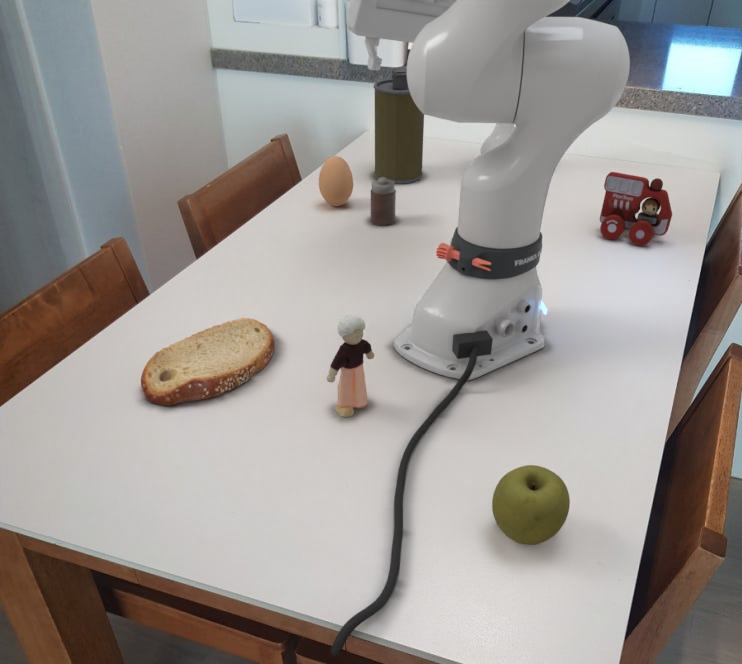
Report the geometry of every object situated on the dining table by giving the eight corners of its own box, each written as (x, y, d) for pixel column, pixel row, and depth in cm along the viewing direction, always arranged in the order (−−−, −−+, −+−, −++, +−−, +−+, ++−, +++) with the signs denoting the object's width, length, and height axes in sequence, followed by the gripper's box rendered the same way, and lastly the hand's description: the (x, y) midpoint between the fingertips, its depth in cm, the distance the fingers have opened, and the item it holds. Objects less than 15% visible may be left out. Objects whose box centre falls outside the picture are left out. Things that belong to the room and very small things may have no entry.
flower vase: (544, 180, 157) (565, 43, 140) (457, 173, 160) (467, 38, 143) (548, 161, 166) (568, 30, 149) (465, 154, 169) (476, 25, 153)
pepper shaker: (384, 227, 138) (384, 183, 133) (365, 221, 141) (365, 177, 135) (400, 220, 141) (401, 176, 135) (381, 214, 143) (382, 171, 138)
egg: (313, 208, 145) (311, 159, 139) (329, 197, 150) (327, 148, 144) (344, 213, 143) (342, 164, 137) (359, 202, 148) (358, 153, 142)
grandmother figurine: (349, 425, 92) (347, 333, 84) (324, 416, 94) (319, 324, 85) (382, 395, 97) (383, 306, 89) (357, 387, 99) (356, 298, 90)
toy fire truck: (659, 250, 130) (675, 189, 124) (589, 236, 135) (601, 176, 128) (668, 236, 135) (684, 177, 128) (601, 223, 140) (613, 165, 133)
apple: (480, 548, 76) (487, 496, 72) (498, 499, 82) (506, 448, 77) (554, 568, 74) (566, 515, 70) (568, 516, 80) (580, 464, 75)
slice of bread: (272, 328, 110) (270, 304, 108) (282, 396, 97) (280, 371, 95) (147, 339, 108) (142, 315, 106) (140, 410, 95) (134, 385, 92)
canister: (423, 184, 155) (428, 76, 142) (373, 184, 155) (373, 76, 142) (421, 166, 163) (425, 62, 150) (374, 166, 163) (373, 62, 150)
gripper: (367, -37, 105) (349, 72, 114) (486, -15, 114) (460, 84, 123) (349, -47, 108) (332, 59, 117) (465, -25, 118) (442, 72, 127)
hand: (399, 72), depth 120 cm, fingers open, 8 cm apart
